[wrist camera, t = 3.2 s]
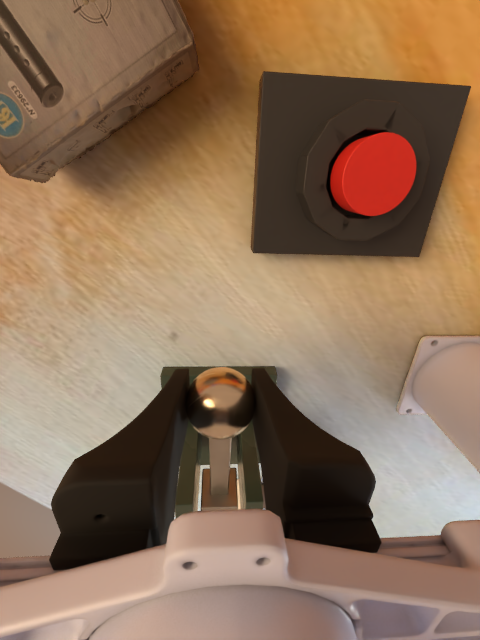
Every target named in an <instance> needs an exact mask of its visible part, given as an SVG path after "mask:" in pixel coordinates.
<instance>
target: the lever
mask: <svg viewBox="0 0 480 640" xmlns="http://www.w3.org/2000/svg"><path fill="white" fill-rule="evenodd" d="M255 406H256V401H255V394H254V390H253V388H252V386H251V384H250V382H249V381H248V380H247V379H246V377H245V376H244V375H242V374H241V373H240V372H238V371H236V370H234V369H231V368H227V367H216V368H211V369H209V370H206V371H204V372H203V373H201V374H200V375H199V376H197V377H196V379H195V380H194V381H193V382H192V384H191V385H190V387H189V389H188V392H187V396H186V413H187V416H188V419H189V421H190V423H191V424H192V426H193V427H194V428H195V429H196V430H197V431H198V432H199V433H200V434H202V435H203V436H205V437H207V438H209V452H210V469H203V472H202V493H201V511H214V510H237V509H238V495H237V474H236V468H230V458H231V440H232V438H233V437H235V436H237V435H238V434H240V433H241V432H243V431H244V430H245V429H246V428H247V426H248V425H249V423H250V422H251V420H252V418H253V416H254V412H255Z"/></svg>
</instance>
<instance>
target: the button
mask: <svg viewBox="0 0 480 640" xmlns="http://www.w3.org/2000/svg"><path fill="white" fill-rule="evenodd" d="M415 175H416V156H415V153H414V150H413V148H412V146H411V145H410V143H409V142H408V141H407V140H406V139H405V138H403V137H402V136H400V135H398V134H395V133H390V132H383V133H378V134H374V135H371V136H367V137H364V138H361V139H358V140H356V141H354V142H352V143H351V144H349V145H348V146H347V147H346V148H345V149H344V150H343V151H342V152H341V153H340V154H339V156H338V157H337V159H336V161H335V163H334V165H333V168H332V171H331V177H330V187H331V192H332V195H333V197H334V199H335V201H336V202H337V204H338V205H339V206H340V207H341V208H343V209H345V210H347V211H349V212H353V213H357V214H361V215H365V216H378V215H382V214H385V213H387V212H389V211H391V210H392V209H394V208H395V207H396V206H398V205H399V204H400V203H401V202H402V201H403V200H404V198H405V197H406V196H407V194H408V193H409V191H410V189H411V187H412V185H413V182H414V179H415Z"/></svg>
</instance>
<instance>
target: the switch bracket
mask: <svg viewBox="0 0 480 640" xmlns="http://www.w3.org/2000/svg"><path fill="white" fill-rule="evenodd" d="M211 368H216V367H163V369H162V373H161V376H160V377H161V387H162V388H163V387H164V386H165V384H166V383H167V382H168V380H169V379H170V377H171V376H172V374H173V372H174V371H175V370H176V369H189V379H190V385H191V384H192V382H193V381H194V380H195V379H196V377H197V376H199V375H200V374H201V373H203V372H204V371H206V370H209V369H211ZM227 368H231V369H234V370H236V371H238V372H240V373H241V374H242V375H244V376H245V377H246V379H247V380H248V381H249V382H250V384H251V375H252V368H264V369H265V370H266V371H267V373H268V374H269V376H270V377H271V379H272V380H273V381H274V383H275V384H276V381H277V373H276V369H275V367H227ZM258 463H261V462H260V456H259V452H258V447H257V442H256V438H255V433H254V428H253V424H252V420H251V422H250V423H249V425H248V426H247V428H246V429H245V430H244V431H243V432H241V433H240V434H238V435H237V436H235V437H233V438H232V440H231V458H230V464H238V477H239V492H240V507H241V509H263V508H266V505H265V495H264V486H263V483H261V479H260V472H259V465H258ZM200 465H210V452H209V438H207V437H205V436H203V435H202V434H200V433H199V432H198V431H197V430H196V429H195V428H194V427H193V426H192V424H191V423H190V421H189V422H188V427H187V432H186V436H185V441H184V446H183V451H182V456H181V460H180V470H179V477H178V484H177V492H176V502H175V514H176V518H178V517H179V516H181V515H182V514H185V513H190V512H195V511H197V509H198V494H199V479H200Z"/></svg>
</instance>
